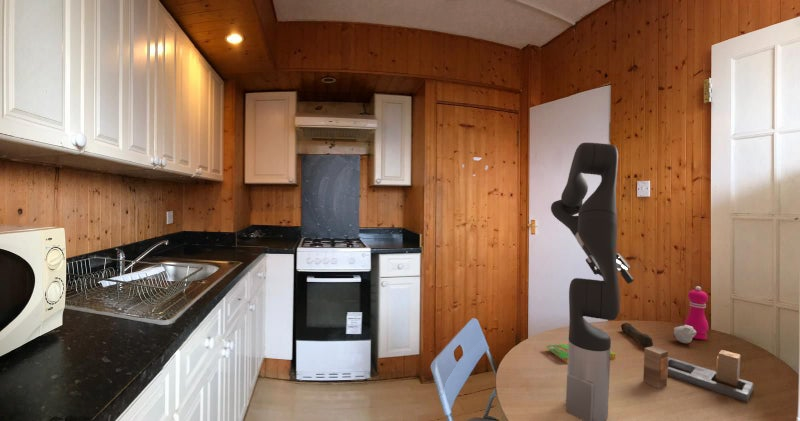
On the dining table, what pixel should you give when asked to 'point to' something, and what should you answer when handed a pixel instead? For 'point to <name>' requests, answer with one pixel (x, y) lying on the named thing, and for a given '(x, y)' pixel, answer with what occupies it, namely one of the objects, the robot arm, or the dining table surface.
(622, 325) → the dark brown stick
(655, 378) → the tan wooden block
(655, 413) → the dining table surface
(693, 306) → the pepper mill
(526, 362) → the dining table surface
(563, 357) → the game box
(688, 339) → the crumpled paper ball
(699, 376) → the gray block holder
